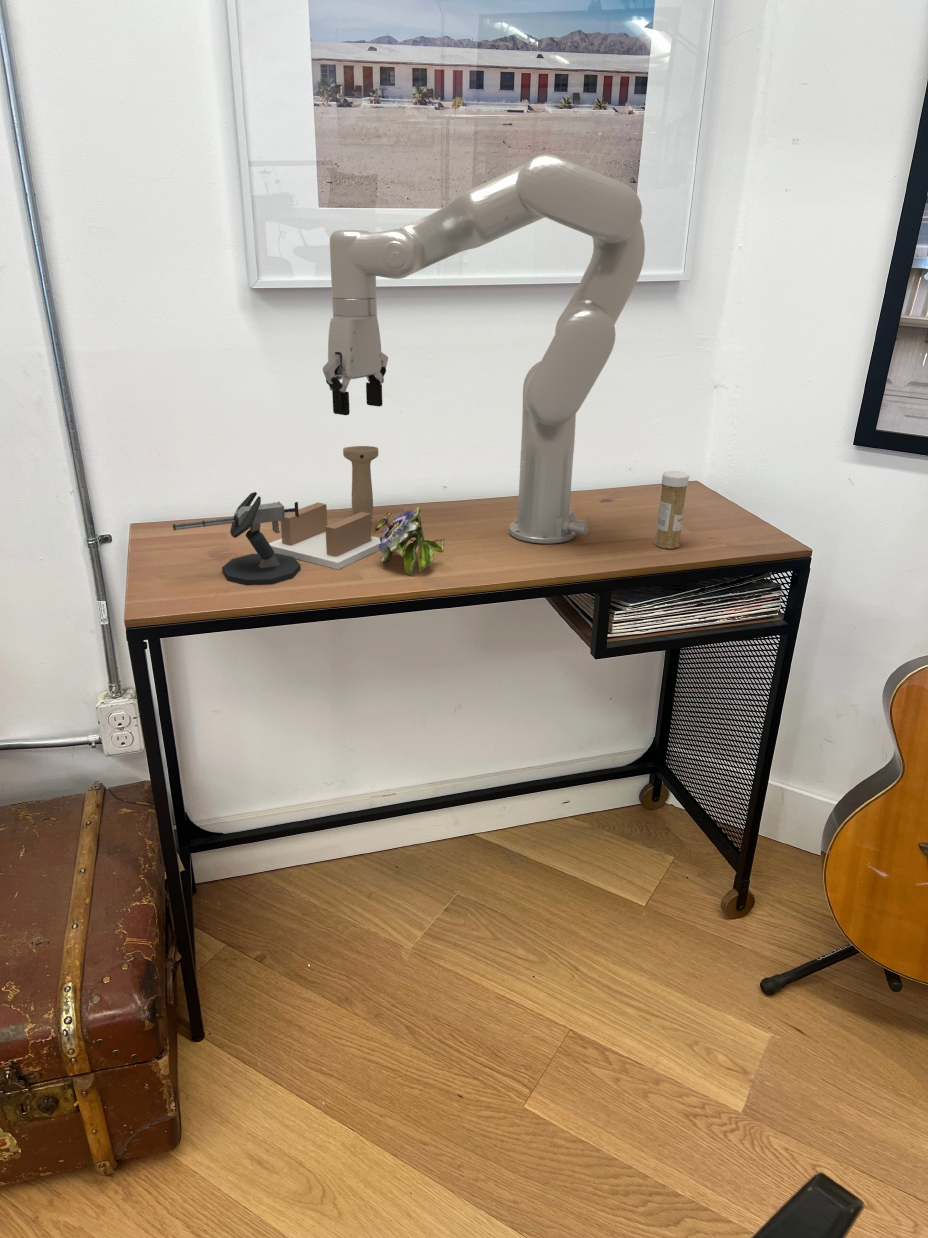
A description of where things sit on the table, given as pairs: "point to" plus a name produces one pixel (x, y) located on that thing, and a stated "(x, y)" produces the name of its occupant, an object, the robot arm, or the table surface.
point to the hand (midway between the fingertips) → (358, 409)
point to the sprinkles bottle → (671, 509)
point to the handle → (361, 477)
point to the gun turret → (255, 543)
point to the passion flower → (401, 534)
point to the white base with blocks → (326, 537)
